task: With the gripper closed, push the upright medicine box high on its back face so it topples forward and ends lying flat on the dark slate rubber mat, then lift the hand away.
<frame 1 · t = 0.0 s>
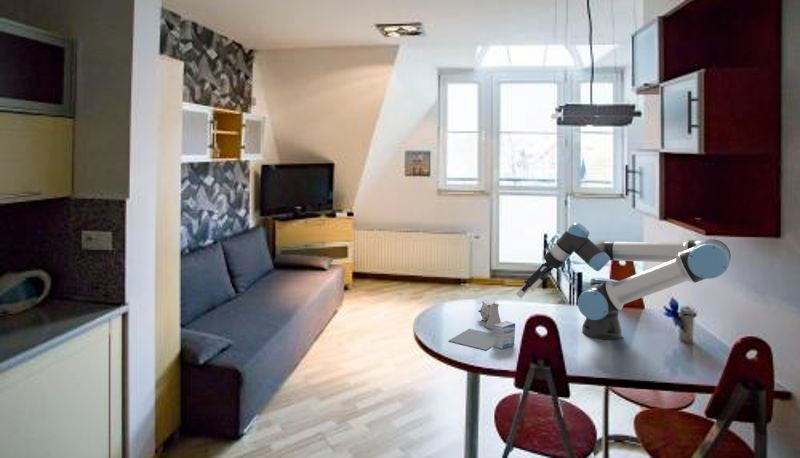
hand: (524, 292, 226), 15 cm above the table, tool tilted 35°, fingers open, 13 cm apart
flask: (493, 327, 229), on the table
medicine box: (503, 346, 207), on the table
game die: (487, 320, 238), on the table
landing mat: (477, 339, 213), on the table
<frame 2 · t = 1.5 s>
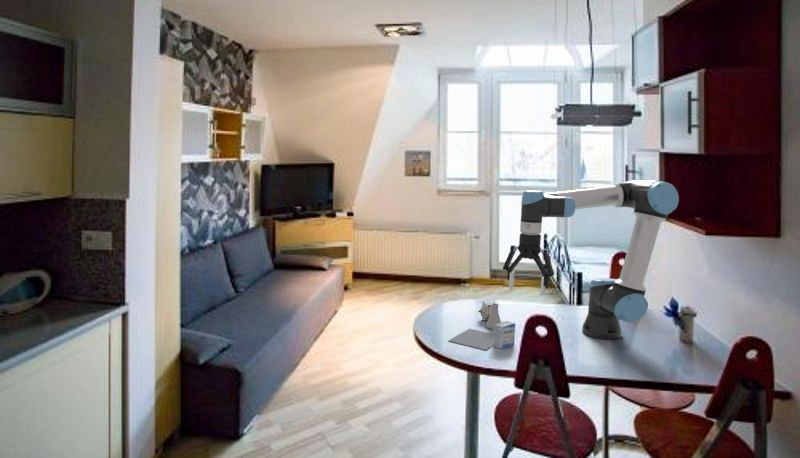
hand: (526, 291, 200), 22 cm above the table, tool pointing down, fingers open, 11 cm apart
nothing on the table moved.
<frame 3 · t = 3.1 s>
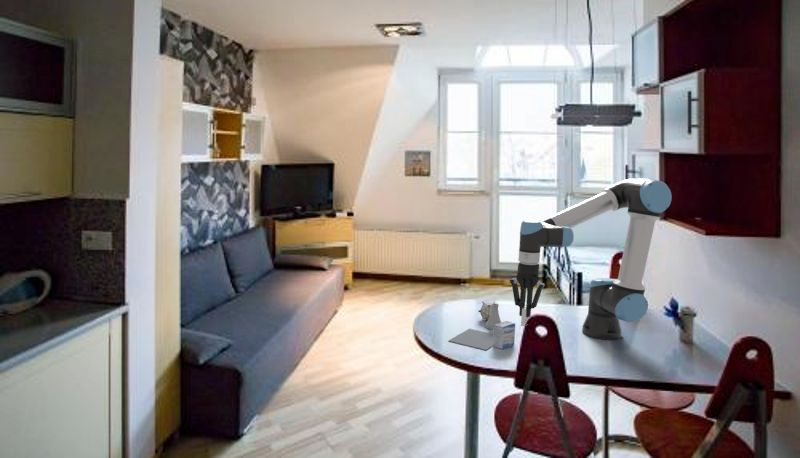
hand: (524, 325, 201), 10 cm above the table, tool pointing down, fingers closed
nothing on the table moved.
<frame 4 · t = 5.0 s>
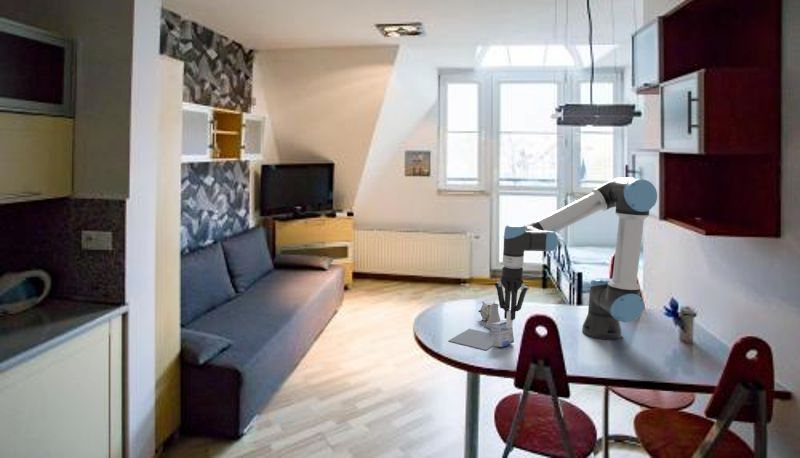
hand: (509, 327, 205), 8 cm above the table, tool pointing down, fingers closed
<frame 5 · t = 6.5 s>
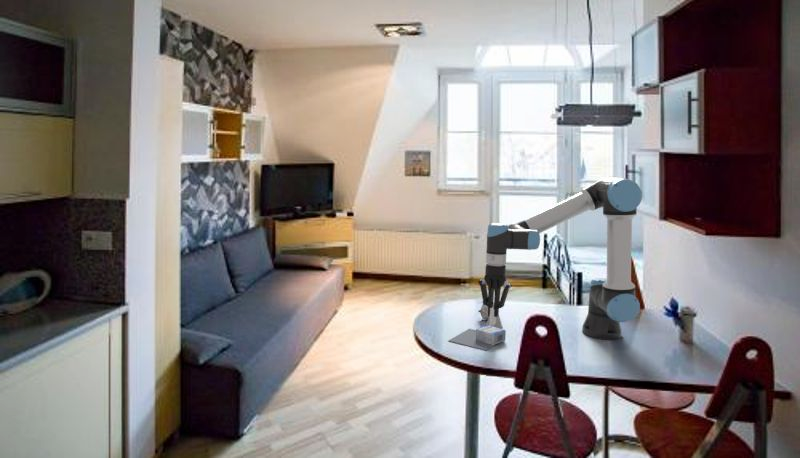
hand: (492, 324, 209), 7 cm above the table, tool pointing down, fingers closed
medicine box: (500, 338, 208), point 2 cm above the table, touching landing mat
everything else where it was.
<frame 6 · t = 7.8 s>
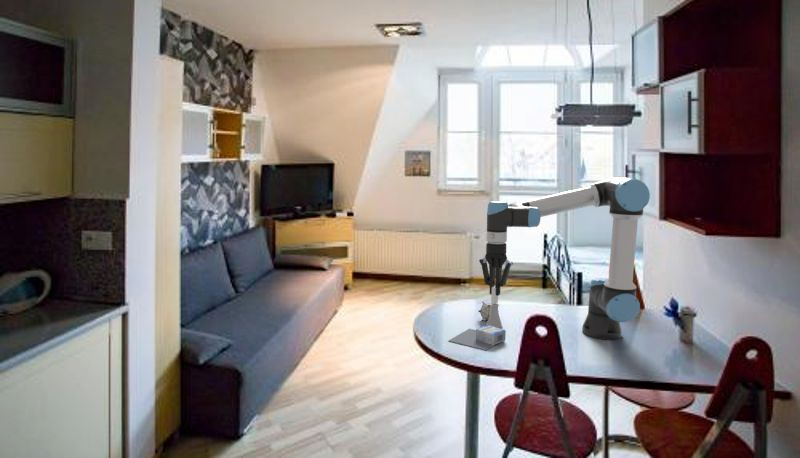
hand: (494, 303, 208), 16 cm above the table, tool pointing down, fingers closed
nothing on the table moved.
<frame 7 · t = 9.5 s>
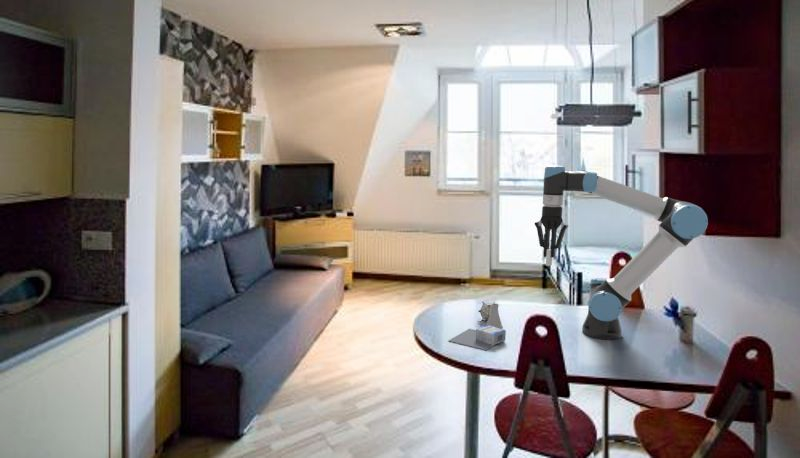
hand: (548, 265, 214), 29 cm above the table, tool pointing down, fingers closed
nothing on the table moved.
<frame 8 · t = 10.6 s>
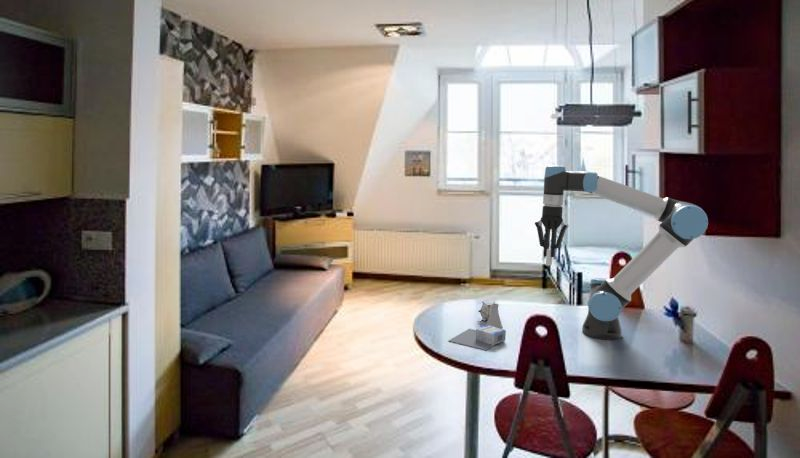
hand: (548, 264, 214), 29 cm above the table, tool pointing down, fingers closed
nothing on the table moved.
at the end: medicine box tilted 89°; medicine box touching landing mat; medicine box inside the target area (3.9 cm from its centre), point 2.4 cm above the table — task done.
